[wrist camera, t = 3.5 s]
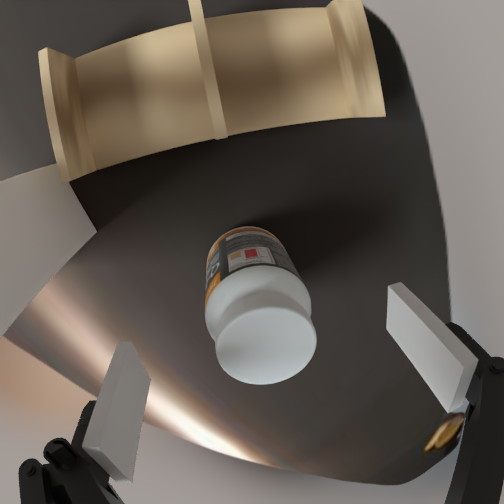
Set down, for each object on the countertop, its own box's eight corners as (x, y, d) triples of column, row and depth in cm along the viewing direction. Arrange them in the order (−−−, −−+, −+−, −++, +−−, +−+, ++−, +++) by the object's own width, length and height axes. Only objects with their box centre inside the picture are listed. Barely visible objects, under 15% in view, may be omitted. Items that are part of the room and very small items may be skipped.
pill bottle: (197, 235, 22) (185, 313, 13) (278, 215, 22) (321, 280, 13) (218, 304, 24) (222, 401, 15) (291, 286, 24) (331, 375, 15)
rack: (74, 64, 16) (38, 51, 11) (327, 12, 17) (357, -14, 12) (95, 170, 19) (62, 183, 15) (349, 117, 20) (385, 116, 15)
